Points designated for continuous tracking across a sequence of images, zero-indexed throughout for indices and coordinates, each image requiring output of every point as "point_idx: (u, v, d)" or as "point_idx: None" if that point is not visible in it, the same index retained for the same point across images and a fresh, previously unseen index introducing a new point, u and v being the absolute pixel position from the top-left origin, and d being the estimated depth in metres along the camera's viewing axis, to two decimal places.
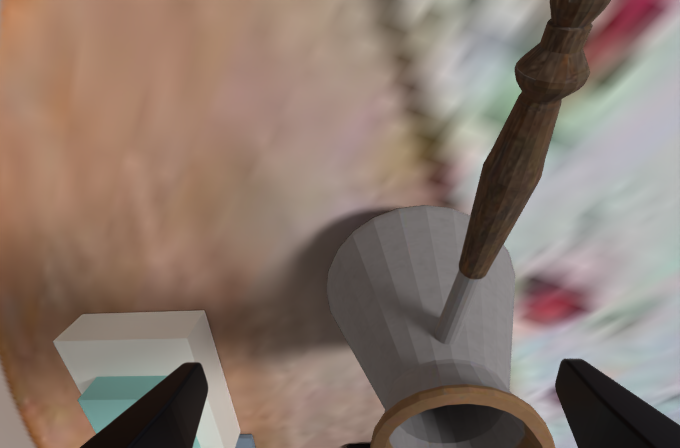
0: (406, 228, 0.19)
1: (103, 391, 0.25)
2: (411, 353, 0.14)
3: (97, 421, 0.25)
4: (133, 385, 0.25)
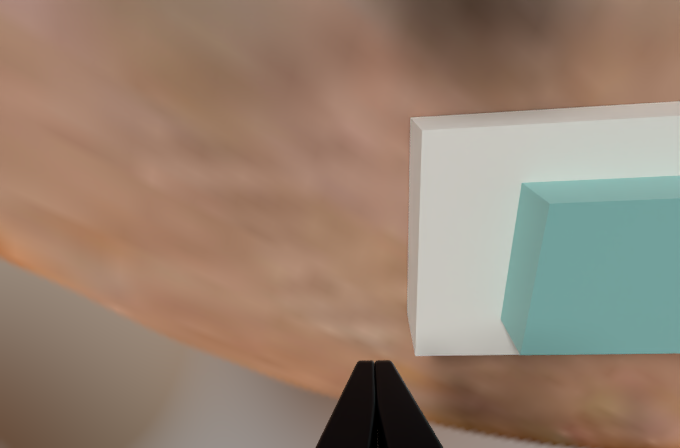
0: None
1: (518, 311, 0.13)
2: None
3: (587, 341, 0.13)
4: (520, 259, 0.13)
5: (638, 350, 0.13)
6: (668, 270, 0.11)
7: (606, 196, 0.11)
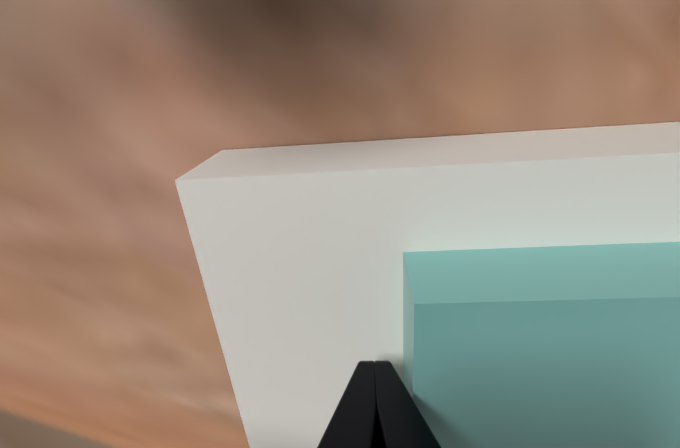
0: None
1: None
2: None
3: None
4: (406, 358, 0.09)
5: None
6: (610, 395, 0.07)
7: (507, 289, 0.07)
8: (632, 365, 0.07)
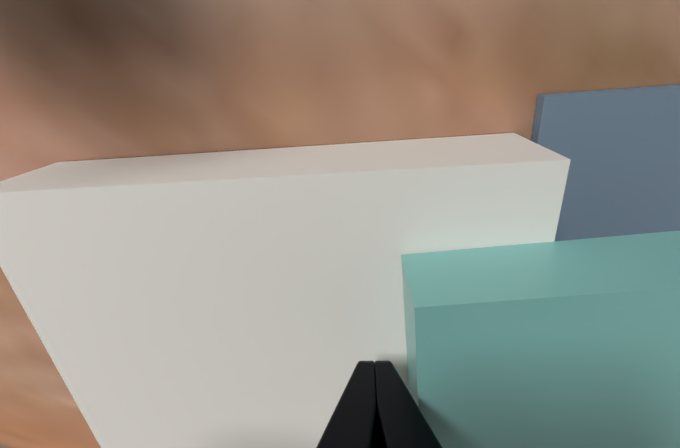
0: None
1: None
2: None
3: None
4: (410, 361, 0.09)
5: None
6: (617, 389, 0.07)
7: (507, 287, 0.07)
8: (638, 359, 0.07)
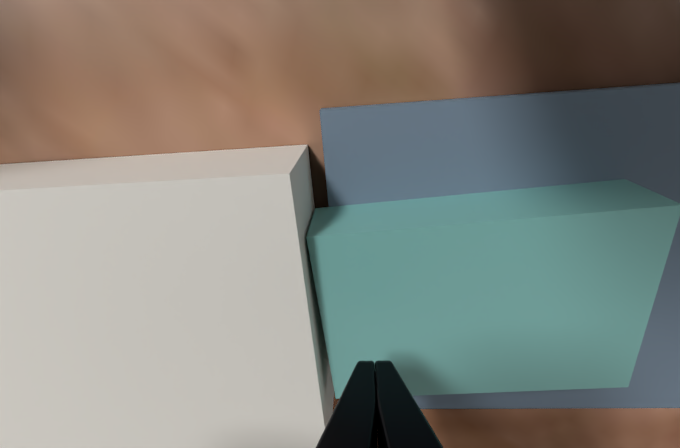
0: None
1: None
2: None
3: None
4: None
5: (462, 390, 0.11)
6: (465, 304, 0.10)
7: (376, 224, 0.09)
8: (475, 279, 0.09)
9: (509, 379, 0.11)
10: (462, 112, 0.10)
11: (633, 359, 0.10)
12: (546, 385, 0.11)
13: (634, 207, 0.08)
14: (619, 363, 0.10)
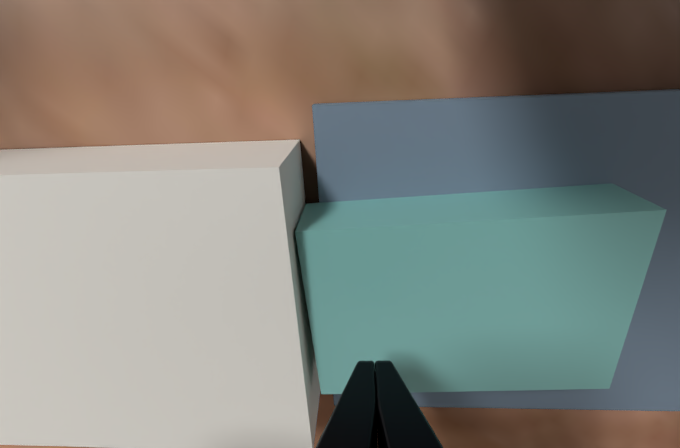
0: None
1: None
2: None
3: None
4: None
5: (447, 388, 0.11)
6: (451, 303, 0.10)
7: (365, 221, 0.09)
8: (461, 278, 0.09)
9: (493, 378, 0.11)
10: (453, 112, 0.10)
11: (615, 361, 0.11)
12: (530, 385, 0.11)
13: (619, 211, 0.09)
14: (601, 364, 0.10)
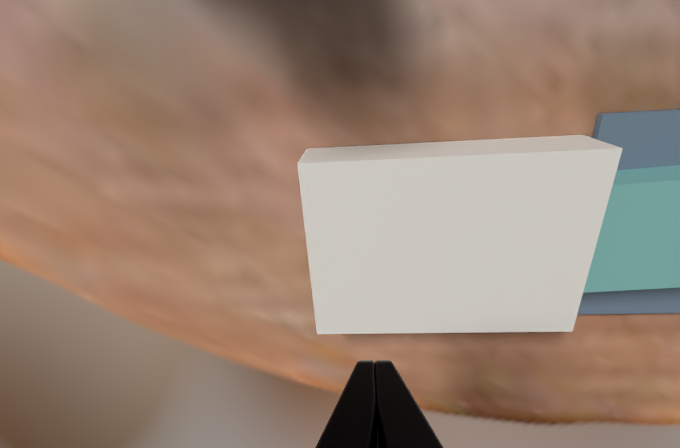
0: None
1: None
2: None
3: (629, 280, 0.18)
4: None
5: (665, 285, 0.18)
6: None
7: (641, 180, 0.16)
8: None
9: None
10: None
11: None
12: None
13: None
14: None
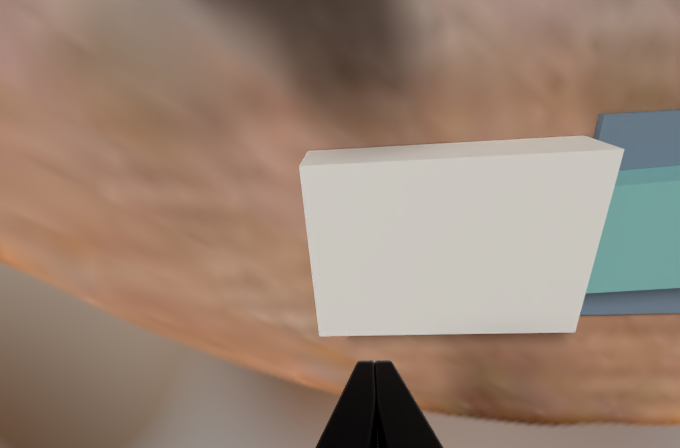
0: None
1: None
2: None
3: (631, 281, 0.18)
4: None
5: (668, 285, 0.18)
6: None
7: (643, 180, 0.16)
8: None
9: None
10: None
11: None
12: None
13: None
14: None
